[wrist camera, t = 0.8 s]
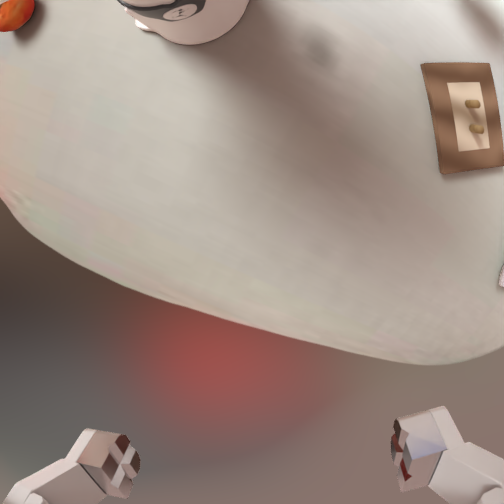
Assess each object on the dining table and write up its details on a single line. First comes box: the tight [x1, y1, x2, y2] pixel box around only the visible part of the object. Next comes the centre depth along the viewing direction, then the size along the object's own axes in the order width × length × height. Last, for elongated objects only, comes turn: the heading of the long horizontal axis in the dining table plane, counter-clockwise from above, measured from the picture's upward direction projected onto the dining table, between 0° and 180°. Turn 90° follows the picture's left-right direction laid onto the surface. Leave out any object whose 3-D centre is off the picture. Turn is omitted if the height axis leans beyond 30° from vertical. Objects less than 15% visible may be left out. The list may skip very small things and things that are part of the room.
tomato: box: [0, 0, 35, 32], centre depth 30 cm, size 9×9×8 cm
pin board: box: [421, 63, 504, 174], centre depth 33 cm, size 16×12×4 cm
